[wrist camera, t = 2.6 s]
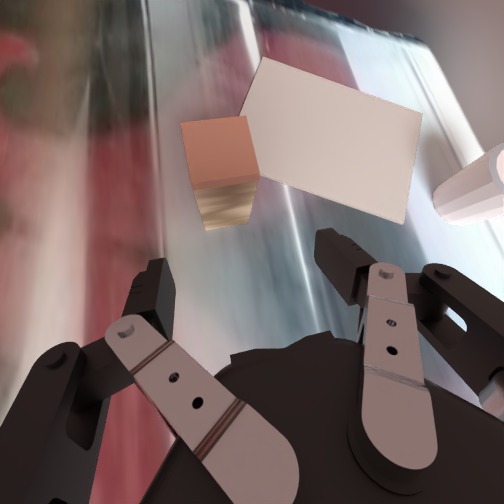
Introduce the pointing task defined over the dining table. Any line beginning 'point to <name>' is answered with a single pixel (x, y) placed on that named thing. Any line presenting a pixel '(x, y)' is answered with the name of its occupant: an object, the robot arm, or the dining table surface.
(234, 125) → the birch block
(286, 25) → the dining table surface
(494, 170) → the beige tapered cup
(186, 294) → the dining table surface
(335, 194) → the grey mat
